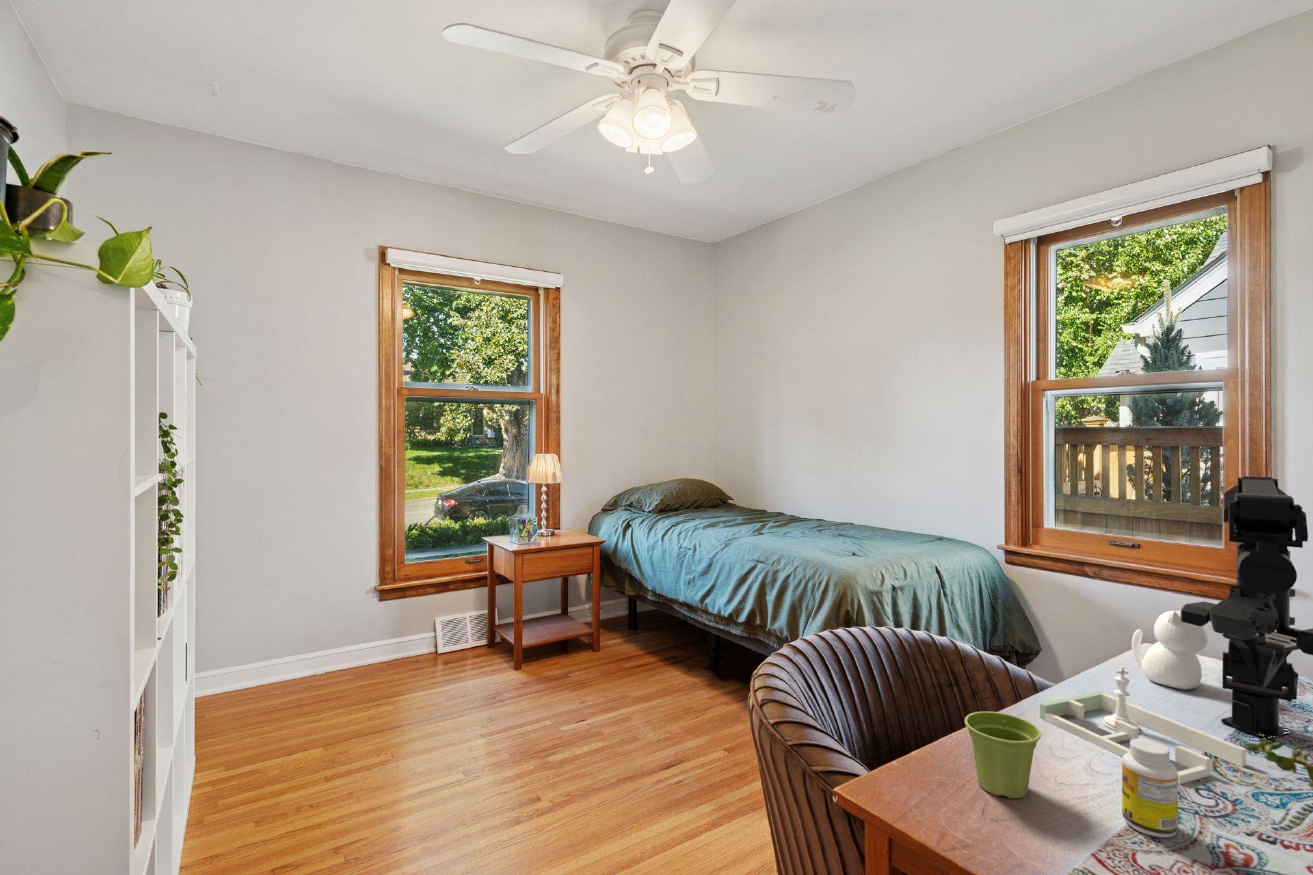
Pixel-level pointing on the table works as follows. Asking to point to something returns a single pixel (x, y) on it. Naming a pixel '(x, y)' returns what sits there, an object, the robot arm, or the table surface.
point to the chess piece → (1120, 702)
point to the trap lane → (1186, 760)
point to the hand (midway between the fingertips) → (1261, 686)
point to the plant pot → (1002, 751)
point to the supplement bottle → (1150, 789)
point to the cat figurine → (1172, 652)
